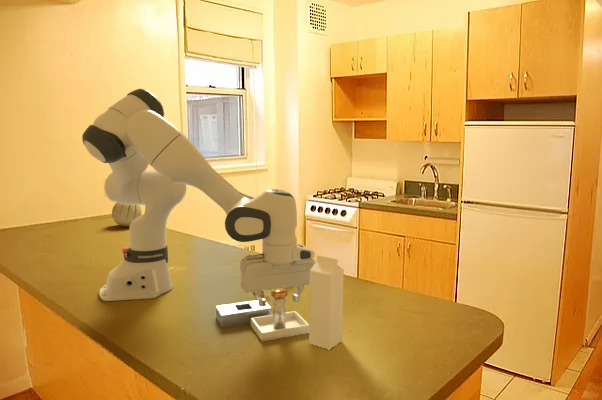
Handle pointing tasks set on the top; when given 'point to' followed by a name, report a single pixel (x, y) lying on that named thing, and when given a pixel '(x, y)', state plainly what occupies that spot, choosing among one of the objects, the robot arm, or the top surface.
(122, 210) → the pale beige ball
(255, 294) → the vase
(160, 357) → the top surface
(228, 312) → the white block with hole
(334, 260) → the milk
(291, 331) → the tray
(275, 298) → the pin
